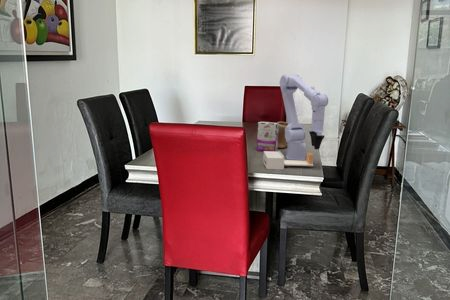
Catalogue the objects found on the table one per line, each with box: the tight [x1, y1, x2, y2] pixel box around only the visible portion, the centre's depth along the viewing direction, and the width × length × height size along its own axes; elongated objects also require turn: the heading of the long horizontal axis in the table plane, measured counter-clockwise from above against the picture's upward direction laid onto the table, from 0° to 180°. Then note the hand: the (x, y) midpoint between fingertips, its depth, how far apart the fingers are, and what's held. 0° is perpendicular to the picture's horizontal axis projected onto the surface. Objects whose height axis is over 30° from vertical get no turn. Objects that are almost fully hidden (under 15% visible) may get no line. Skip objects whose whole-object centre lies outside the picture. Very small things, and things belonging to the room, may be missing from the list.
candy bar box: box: [256, 121, 279, 152], centre depth 225 cm, size 11×5×16 cm, turn 69°
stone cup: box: [276, 121, 288, 149], centre depth 238 cm, size 15×12×15 cm
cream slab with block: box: [284, 152, 314, 167], centre depth 195 cm, size 14×8×5 cm, turn 92°
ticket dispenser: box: [262, 150, 286, 171], centre depth 195 cm, size 8×14×6 cm, turn 2°
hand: (315, 147), depth 195 cm, fingers open, 7 cm apart
